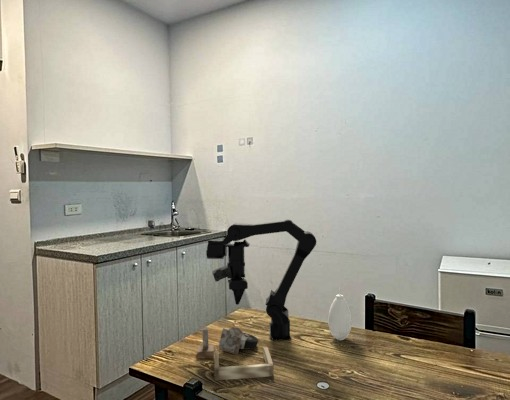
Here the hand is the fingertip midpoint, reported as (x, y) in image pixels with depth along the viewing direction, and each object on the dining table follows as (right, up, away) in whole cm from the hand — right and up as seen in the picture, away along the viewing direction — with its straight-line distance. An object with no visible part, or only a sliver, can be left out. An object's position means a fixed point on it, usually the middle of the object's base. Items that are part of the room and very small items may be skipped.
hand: (237, 302), depth 129 cm
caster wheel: (+1, -13, -9) cm, 16 cm away
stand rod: (-9, -13, -14) cm, 21 cm away
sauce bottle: (+36, -12, -4) cm, 38 cm away
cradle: (+3, -13, -22) cm, 26 cm away
